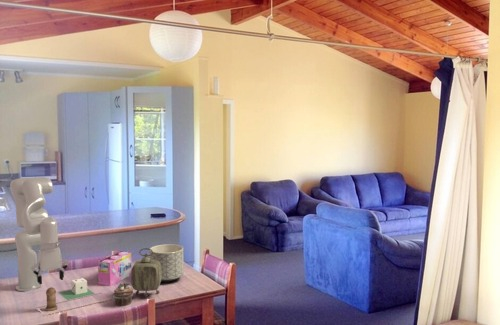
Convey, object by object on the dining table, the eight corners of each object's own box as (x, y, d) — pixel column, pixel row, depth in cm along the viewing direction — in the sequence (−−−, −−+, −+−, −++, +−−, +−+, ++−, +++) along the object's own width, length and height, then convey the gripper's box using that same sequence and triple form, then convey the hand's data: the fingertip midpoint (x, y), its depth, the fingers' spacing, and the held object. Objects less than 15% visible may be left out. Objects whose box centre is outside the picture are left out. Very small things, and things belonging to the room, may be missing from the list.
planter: (187, 274, 279) (186, 244, 277) (179, 285, 260) (178, 253, 259) (155, 273, 281) (155, 243, 279) (145, 284, 262) (145, 252, 261)
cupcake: (125, 298, 241) (124, 279, 240) (136, 302, 235) (136, 283, 234) (108, 303, 234) (108, 284, 233) (120, 308, 228) (120, 288, 227)
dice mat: (58, 292, 249) (58, 292, 249) (85, 287, 257) (85, 286, 257) (67, 300, 238) (67, 300, 238) (94, 294, 247) (94, 293, 247)
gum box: (122, 272, 284) (121, 250, 283) (133, 273, 281) (133, 251, 280) (97, 285, 261) (97, 261, 260) (110, 286, 259) (109, 262, 257)
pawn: (44, 308, 226) (43, 287, 226) (55, 306, 230) (54, 285, 229) (47, 312, 222) (46, 290, 222) (58, 309, 226) (58, 287, 225)
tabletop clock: (162, 292, 250) (161, 246, 248) (159, 298, 241) (158, 250, 239) (134, 292, 249) (133, 246, 247) (130, 299, 240) (129, 250, 238)
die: (71, 291, 250) (71, 280, 249) (83, 289, 254) (82, 278, 253) (75, 294, 245) (75, 283, 245) (87, 292, 249) (87, 280, 249)
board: (35, 308, 227) (35, 307, 227) (101, 293, 248) (101, 292, 248) (43, 316, 218) (43, 316, 218) (111, 300, 239) (111, 299, 239)
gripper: (65, 241, 232) (66, 276, 233) (27, 247, 221) (29, 283, 222) (70, 244, 226) (72, 279, 227) (32, 250, 215) (33, 287, 216)
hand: (50, 281), depth 225 cm, fingers open, 9 cm apart
